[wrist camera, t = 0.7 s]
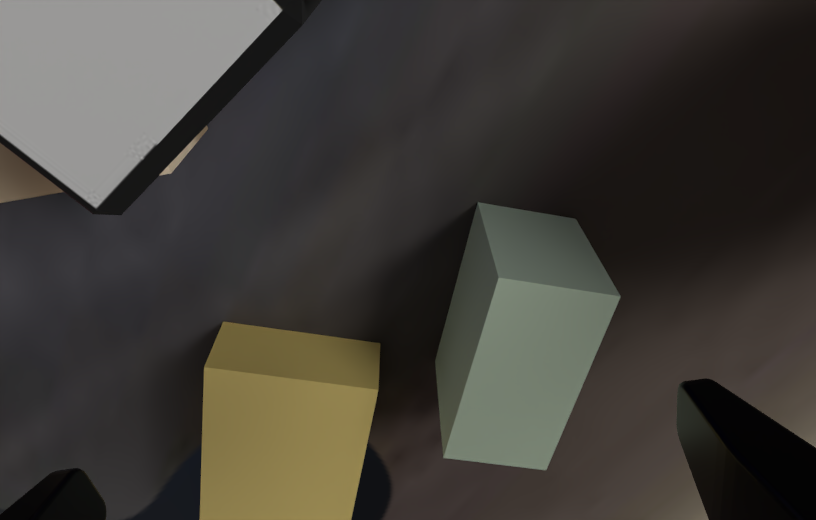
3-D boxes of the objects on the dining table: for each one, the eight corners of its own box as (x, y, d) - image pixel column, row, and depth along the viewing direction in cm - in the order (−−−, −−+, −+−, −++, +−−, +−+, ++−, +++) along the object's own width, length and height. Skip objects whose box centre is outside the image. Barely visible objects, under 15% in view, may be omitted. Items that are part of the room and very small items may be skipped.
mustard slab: (380, 338, 24) (378, 389, 22) (352, 477, 28) (347, 535, 25) (225, 316, 24) (204, 366, 21) (218, 462, 27) (199, 520, 25)
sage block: (575, 217, 21) (620, 296, 17) (519, 371, 25) (546, 470, 21) (477, 201, 21) (498, 277, 17) (434, 360, 24) (443, 458, 20)
